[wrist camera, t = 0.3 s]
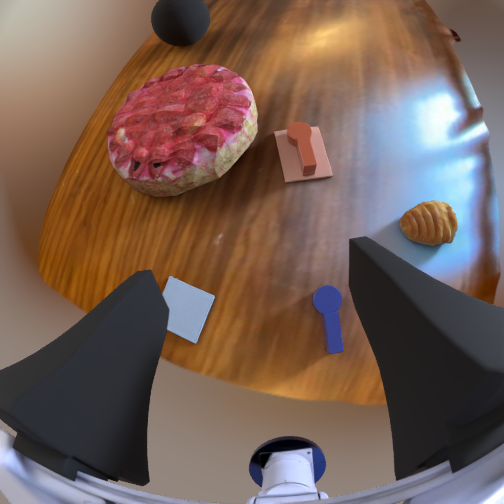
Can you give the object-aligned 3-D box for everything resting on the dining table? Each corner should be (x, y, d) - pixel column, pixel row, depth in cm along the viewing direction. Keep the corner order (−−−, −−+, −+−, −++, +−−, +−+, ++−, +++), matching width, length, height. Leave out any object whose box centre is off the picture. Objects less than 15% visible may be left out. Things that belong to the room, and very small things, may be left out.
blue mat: (215, 296, 36) (214, 296, 36) (196, 343, 35) (195, 343, 35) (170, 276, 37) (169, 276, 37) (153, 321, 36) (152, 321, 36)
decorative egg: (225, 31, 47) (214, -19, 32) (194, 60, 46) (174, 6, 31) (185, 27, 49) (169, -16, 35) (153, 55, 48) (130, 10, 33)
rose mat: (332, 176, 38) (332, 175, 37) (285, 183, 38) (285, 181, 38) (317, 127, 39) (318, 126, 39) (274, 132, 40) (274, 131, 40)
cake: (242, 209, 37) (230, 179, 29) (101, 196, 41) (73, 175, 33) (270, 86, 42) (266, 52, 35) (149, 92, 47) (134, 65, 39)
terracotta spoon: (320, 173, 37) (323, 164, 35) (296, 177, 38) (297, 167, 35) (307, 127, 39) (309, 116, 36) (285, 130, 39) (285, 119, 36)
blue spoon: (345, 346, 33) (350, 350, 30) (318, 351, 33) (321, 355, 30) (336, 284, 35) (341, 282, 32) (309, 288, 35) (312, 287, 32)
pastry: (403, 252, 34) (415, 247, 31) (392, 207, 36) (402, 198, 32) (451, 243, 34) (464, 238, 30) (440, 202, 35) (452, 193, 31)
